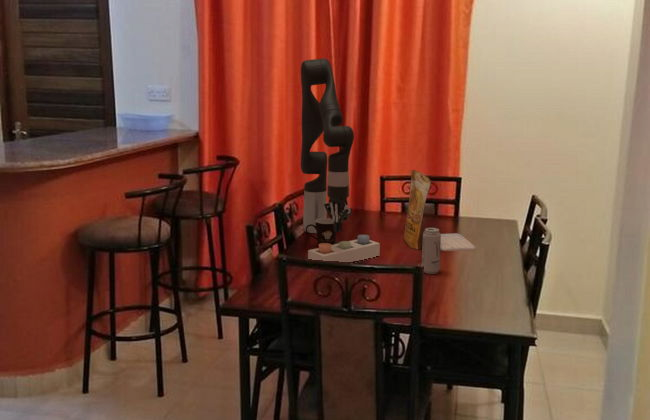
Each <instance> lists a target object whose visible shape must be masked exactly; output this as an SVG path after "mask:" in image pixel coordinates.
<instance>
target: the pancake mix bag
mask: <svg viewBox="0 0 650 420" xmlns="http://www.w3.org/2000/svg"><path fill="white" fill-rule="evenodd" d="M410 172H411V179H410V189H409V199H408V204H407V212H406V220H405V228H404V233H403V234H404V236H403V238H404V241H405V243H406V244H407V245H408V246H409V248H410V249H414V250H420V249H422V245H423V233H424V218H423V215H424V211H425V207H426V201H427V198H428V194H429V191H430V188H431V186H432V180H431V179H430V178H429V177H428V176H427V175H424V174H423V173H421V172H419V171H417V170H414V169H412V170H410Z"/></svg>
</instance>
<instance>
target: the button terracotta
mask: <svg viewBox="0 0 650 420" xmlns="http://www.w3.org/2000/svg"><path fill="white" fill-rule="evenodd" d="M318 248H319V253H321V254H328V253H331V244H329V243H320V244H319V247H318Z"/></svg>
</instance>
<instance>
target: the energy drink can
mask: <svg viewBox="0 0 650 420" xmlns="http://www.w3.org/2000/svg"><path fill="white" fill-rule="evenodd" d="M441 234H442V233H441V232H440V229H439V228H437V227H426V228H424V230H423V235H422V248H421V249H422V250H421V266H422V265H423V266H424V272H423V273H424V274H427V275H436V274H438V273H439V271H440V263H441V250H440V244H441Z"/></svg>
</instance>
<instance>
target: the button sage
mask: <svg viewBox="0 0 650 420" xmlns="http://www.w3.org/2000/svg"><path fill="white" fill-rule="evenodd" d="M348 241H349V240H348ZM348 241H347V240H342V241H341V240H340V241H338V243H337V244H338V248H340V249H343V250H345V249H349V248H351V242H348Z"/></svg>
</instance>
